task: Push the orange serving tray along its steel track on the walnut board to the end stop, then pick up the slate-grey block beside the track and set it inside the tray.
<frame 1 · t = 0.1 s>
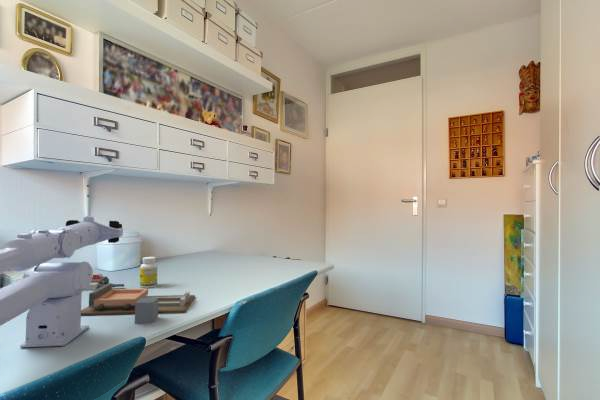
hand: (105, 227, 84), 22 cm above the table, tool horizontal, fingers open, 7 cm apart
block: (146, 320, 75), on the table
supplement bottle: (148, 286, 105), on the table
track: (141, 305, 85), on the table
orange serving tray: (120, 295, 85), point 3 cm above the table, slide at 10.0 cm
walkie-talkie: (94, 288, 103), on the table
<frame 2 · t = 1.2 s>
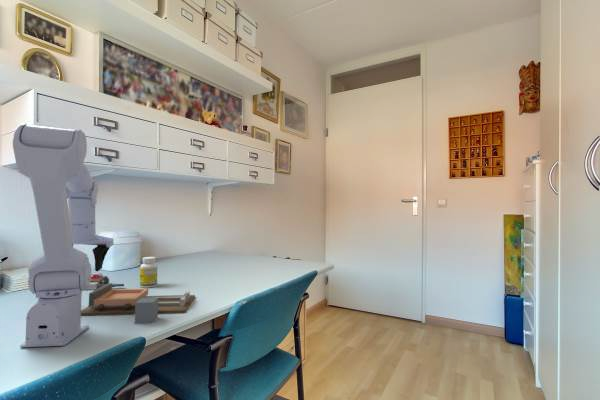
hand: (83, 268, 84), 10 cm above the table, tool tilted 15°, fingers open, 7 cm apart
nothing on the table moved.
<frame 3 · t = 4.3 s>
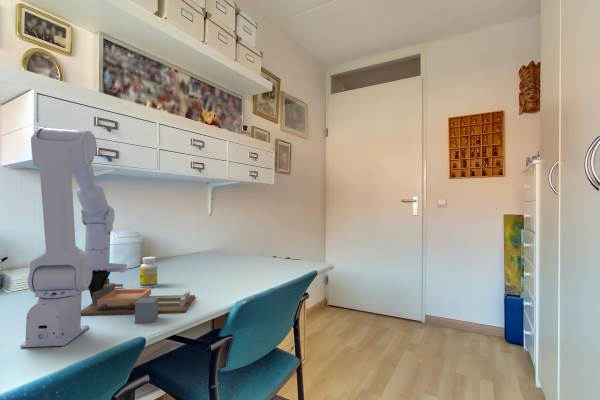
hand: (95, 298, 84), 2 cm above the table, tool pointing down, fingers closed
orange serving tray: (123, 295, 85), point 3 cm above the table, slide at 9.2 cm, touching gripper
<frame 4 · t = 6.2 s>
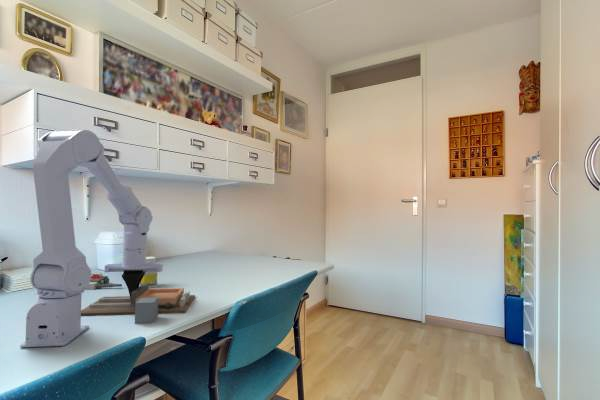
hand: (133, 297, 85), 2 cm above the table, tool pointing down, fingers closed
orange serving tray: (159, 294, 86), point 3 cm above the table, slide at -0.1 cm, touching gripper
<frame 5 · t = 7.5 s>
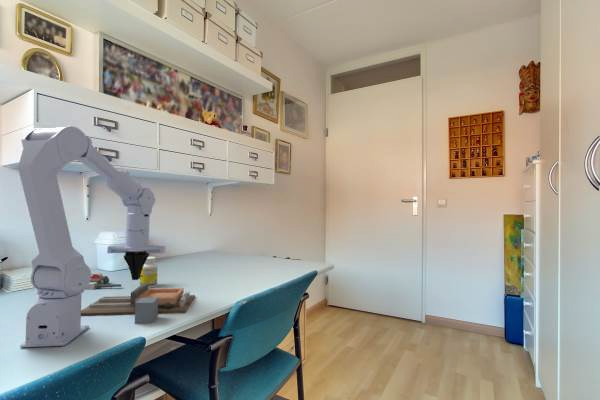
hand: (135, 279, 85), 7 cm above the table, tool pointing down, fingers closed
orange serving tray: (158, 294, 86), point 3 cm above the table, slide at 0.0 cm
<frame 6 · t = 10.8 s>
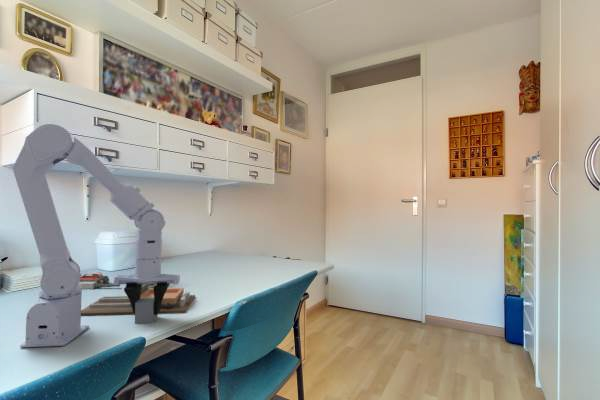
hand: (146, 313, 75), 2 cm above the table, tool pointing down, fingers closed on block, 4 cm apart
block: (146, 320, 75), on the table, touching gripper
when the fingers open (5 cm above the table, at t = 15.1 s): block stays where it is, resting on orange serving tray.
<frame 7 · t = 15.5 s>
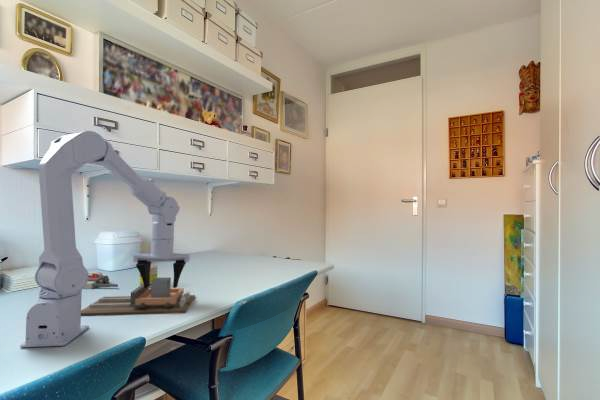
hand: (161, 287, 86), 5 cm above the table, tool pointing down, fingers open, 7 cm apart
block: (160, 297, 86), point 2 cm above the table, touching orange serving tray
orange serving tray: (158, 294, 86), point 3 cm above the table, slide at 0.0 cm, touching block
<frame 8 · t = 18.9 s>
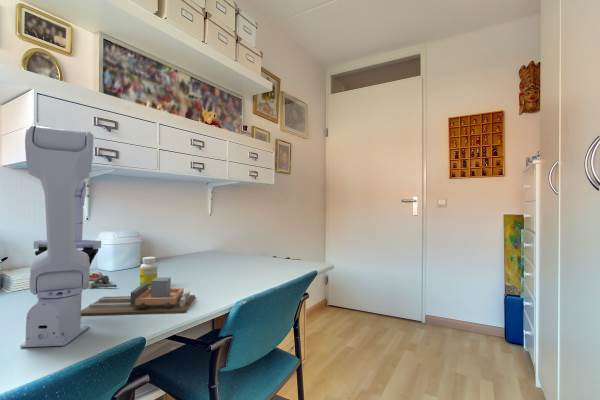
hand: (67, 277, 77), 9 cm above the table, tool pointing down, fingers open, 7 cm apart
at the end: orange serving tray slide at 0.0 cm; block inside the target area (0.2 cm from its centre), point 2.3 cm above the table; block tilted 0° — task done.
